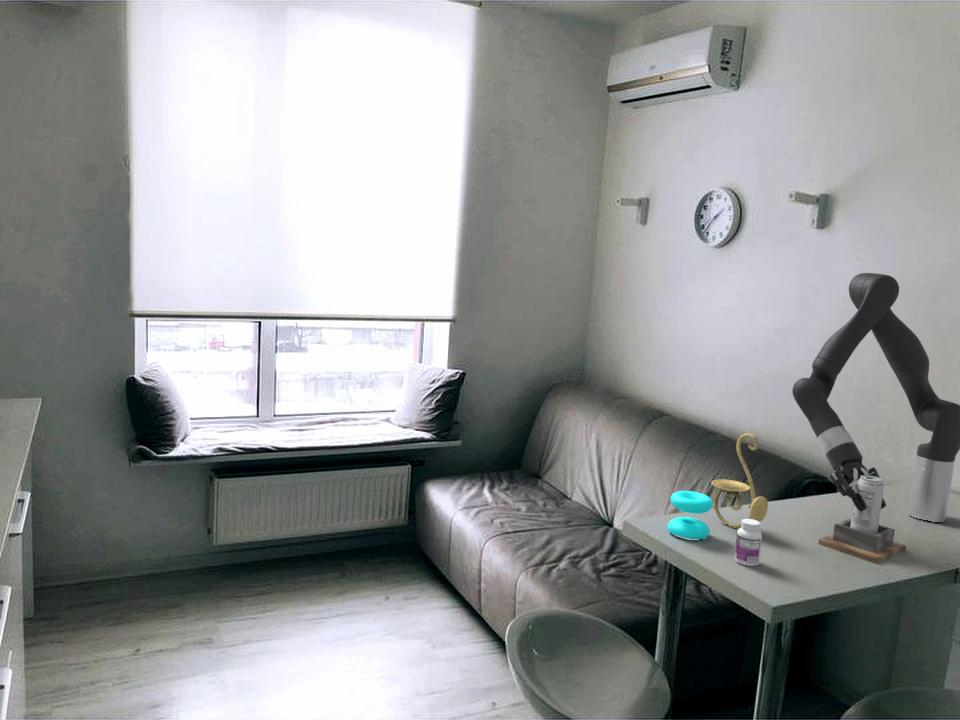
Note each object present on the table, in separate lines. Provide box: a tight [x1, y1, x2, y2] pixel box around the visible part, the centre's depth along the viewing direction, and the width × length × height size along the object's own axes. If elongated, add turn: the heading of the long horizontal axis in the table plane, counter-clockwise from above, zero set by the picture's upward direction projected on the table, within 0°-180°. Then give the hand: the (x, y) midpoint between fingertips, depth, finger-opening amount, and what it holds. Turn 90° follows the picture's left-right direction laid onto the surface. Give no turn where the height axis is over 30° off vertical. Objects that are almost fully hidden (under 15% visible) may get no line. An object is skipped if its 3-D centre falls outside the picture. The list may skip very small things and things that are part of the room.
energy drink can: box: [850, 475, 885, 535], centre depth 194 cm, size 6×6×15 cm
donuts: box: [667, 490, 714, 540], centre depth 196 cm, size 10×10×10 cm
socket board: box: [818, 517, 907, 564], centre depth 195 cm, size 16×14×5 cm
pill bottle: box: [734, 518, 763, 567], centre depth 180 cm, size 5×5×10 cm
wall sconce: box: [710, 432, 769, 529], centre depth 202 cm, size 14×10×25 cm
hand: (873, 508), depth 193 cm, fingers closed on energy drink can, 6 cm apart
